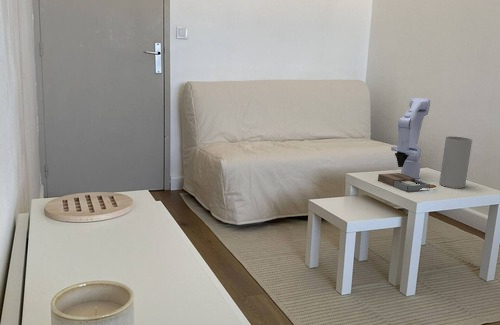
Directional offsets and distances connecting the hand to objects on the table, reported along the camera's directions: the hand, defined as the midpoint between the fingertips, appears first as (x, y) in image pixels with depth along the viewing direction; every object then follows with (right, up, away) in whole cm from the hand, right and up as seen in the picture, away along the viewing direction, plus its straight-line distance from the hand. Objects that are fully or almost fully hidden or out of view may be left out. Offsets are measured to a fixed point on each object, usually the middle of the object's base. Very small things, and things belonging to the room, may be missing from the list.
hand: (400, 166), depth 246 cm
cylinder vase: (+28, -10, +3) cm, 30 cm away
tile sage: (+4, -9, -10) cm, 14 cm away
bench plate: (-2, -8, +3) cm, 9 cm away
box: (+3, -11, -7) cm, 14 cm away
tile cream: (+2, -10, -5) cm, 11 cm away
